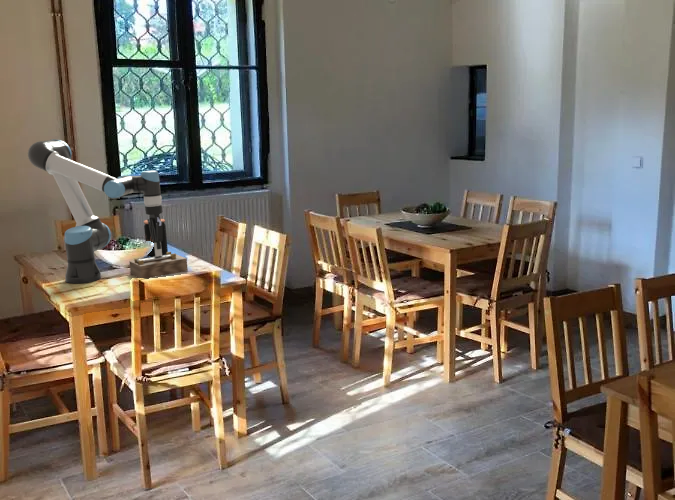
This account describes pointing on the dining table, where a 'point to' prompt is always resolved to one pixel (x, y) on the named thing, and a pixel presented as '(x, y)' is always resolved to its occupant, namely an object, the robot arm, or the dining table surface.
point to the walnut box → (158, 266)
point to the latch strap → (155, 258)
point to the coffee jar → (148, 238)
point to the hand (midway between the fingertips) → (158, 255)
